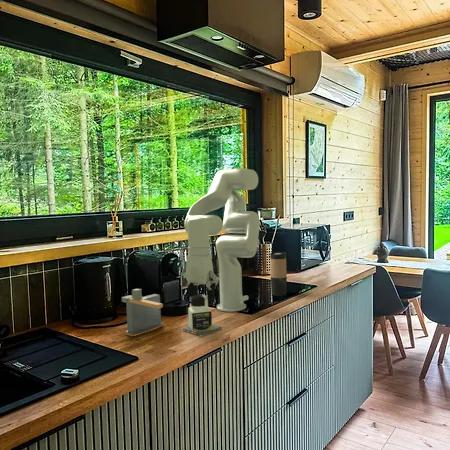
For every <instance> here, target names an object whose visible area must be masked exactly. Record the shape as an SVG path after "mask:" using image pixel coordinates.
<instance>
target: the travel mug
mask: <svg viewBox="0 0 450 450" xmlns="http://www.w3.org/2000/svg"><path fill="white" fill-rule="evenodd" d="M269 257H270V258H269V259H270V260H269V261H270V263H269V264H270V267H269V269H270V288H271V295H272V296H274V297H283V296H286V295H287V286H288V285H287V284H288V283H287V281H288V280H287V279H288V277H287V276H288V273H287V272H288V271H287V253H286V252H283V251H273V252H270V253H269Z"/></svg>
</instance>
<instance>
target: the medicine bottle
mask: <svg viewBox="0 0 450 450" xmlns="http://www.w3.org/2000/svg"><path fill="white" fill-rule="evenodd" d="M208 302H209V301H208V300H207V295H204V294H196V295H194V296H192V297H190V307H188V308H187V309H188V310H187V313H188V327H190V328H191V330H192V331H193V332H197V331H205V330H212V324H213V322H212V321H213V316H212V309H211V308H209V303H208Z"/></svg>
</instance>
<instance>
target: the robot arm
mask: <svg viewBox="0 0 450 450" xmlns="http://www.w3.org/2000/svg"><path fill="white" fill-rule="evenodd" d="M258 184H259V176H258V173H257V172H256V171H255V170H254V169H249V168H241V167H240V168H238V167H237V168H225V169H219V170H217V172H216V173H215V174H214V177H213V180H212V182H211V184H210V187H209V189H208V192H207V194H205V195H204V196H201V198H199V199H198V200H197V201H196V202H194V203H193V204H192V205H191V206H190V208H189V210H188V212H187V213H186V216H185V219H184V229H185V232H186V233H187V241H188V243H187V244H188V248H187V251H188V255H187V256H186V264H185V272H183V273H182V277H183V279H184V282H185V283H186V287H187V294H188V295H187V296H188V297H189V298H191V297H192V296H194V295H197V294H196V285H205V286H206V287H207V290H206V294H207V295H206V296H207V300H208V302H211V301H213V300H214V301H215V299H216V296H215V291H216V290H215V289H216V288H217V286H218V284H219V303H218V304H216V309H217V310H218V311H221V312H225V313H226V312H227V313H230V312H232V313H233V312H240V311H244V310H245V309H246V308H247V304H246V303H245V301H247V300H249V295H243V286H242V285H243V282H242V280H243V279H242V278H243V276H242V266H241V264H240V262H239V260H238V259H237V258H247V259H248V258H253V257H255V255H256V254H257V251H258V243H259V234H260V223H261V222H260V217H259V215H258V213H257V212H255V211H251V210H245V206H246V202H245V200H244V198H243V196H242V195H241V194H240V193H239V192H238V191H251V190H252V191H253V190H255V189H256V188H257V187H258ZM222 207H224V212H223V220H222V218H221V217H220V216H218V215H216V214H208V213H210V212H213V211H216V210H218V209H220V208H222ZM222 230H223V231H224V232H226V233H229V234H222V235H220V236H219V237H217V239H216V241H215V250H216V254H217V259H218V260H217V261H218V272H219V273H218V274H219V275H216V274H215V273H214V264H213V260H212V256H211V253H210V252H211V251H210V248H211V247H210V236H217V235H218V234H220V233H221V231H222ZM195 284H196V285H195Z"/></svg>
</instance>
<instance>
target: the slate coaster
mask: <svg viewBox="0 0 450 450" xmlns="http://www.w3.org/2000/svg"><path fill="white" fill-rule="evenodd" d="M221 329H222V325H221V326H220V325H217V324H213V323H212V330H205V331H197V332H193V331H192V330H191V328H190V327H189V326H186V327H184V328H182V331H183V330H185V331H189V332H193V333H196V334H199V335H198V336H200V335H202V336H201V337H204V336H206V334H207V335H209V334H211V332H212V333H214V332H217V331H220V330H221ZM185 331H184V332H185ZM189 332H188V333H189ZM208 333H209V334H208ZM196 334H195V335H196ZM203 335H204V336H203Z"/></svg>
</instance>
